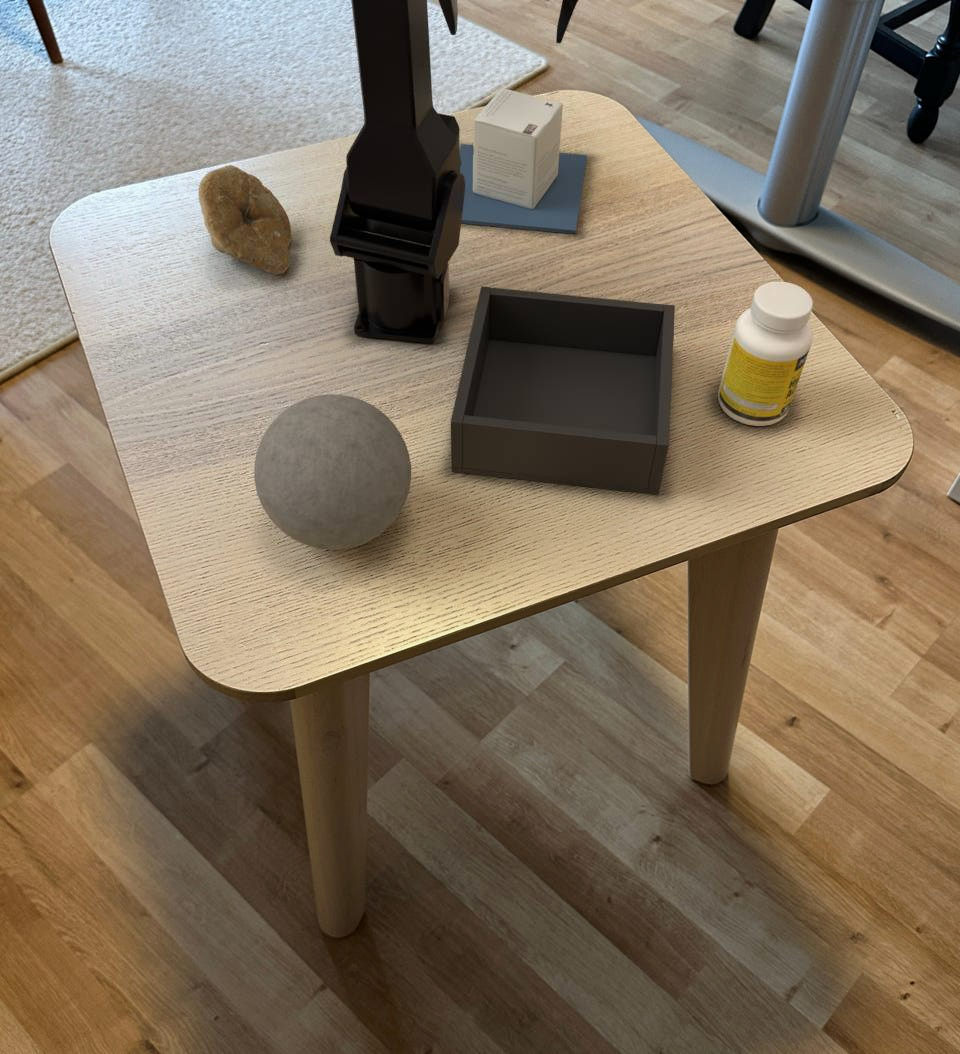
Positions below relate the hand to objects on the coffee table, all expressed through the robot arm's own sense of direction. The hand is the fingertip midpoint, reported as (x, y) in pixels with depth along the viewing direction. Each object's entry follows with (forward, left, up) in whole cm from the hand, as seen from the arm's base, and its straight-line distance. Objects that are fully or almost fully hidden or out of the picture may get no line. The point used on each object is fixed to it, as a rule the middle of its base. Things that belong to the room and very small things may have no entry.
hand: (506, 37), depth 94 cm
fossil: (-19, -19, -11) cm, 29 cm away
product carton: (+2, -6, -11) cm, 13 cm away
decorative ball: (-5, -47, -11) cm, 49 cm away
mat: (+2, -6, -11) cm, 13 cm away
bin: (+9, -34, -11) cm, 37 cm away
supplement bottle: (+23, -31, -11) cm, 40 cm away
